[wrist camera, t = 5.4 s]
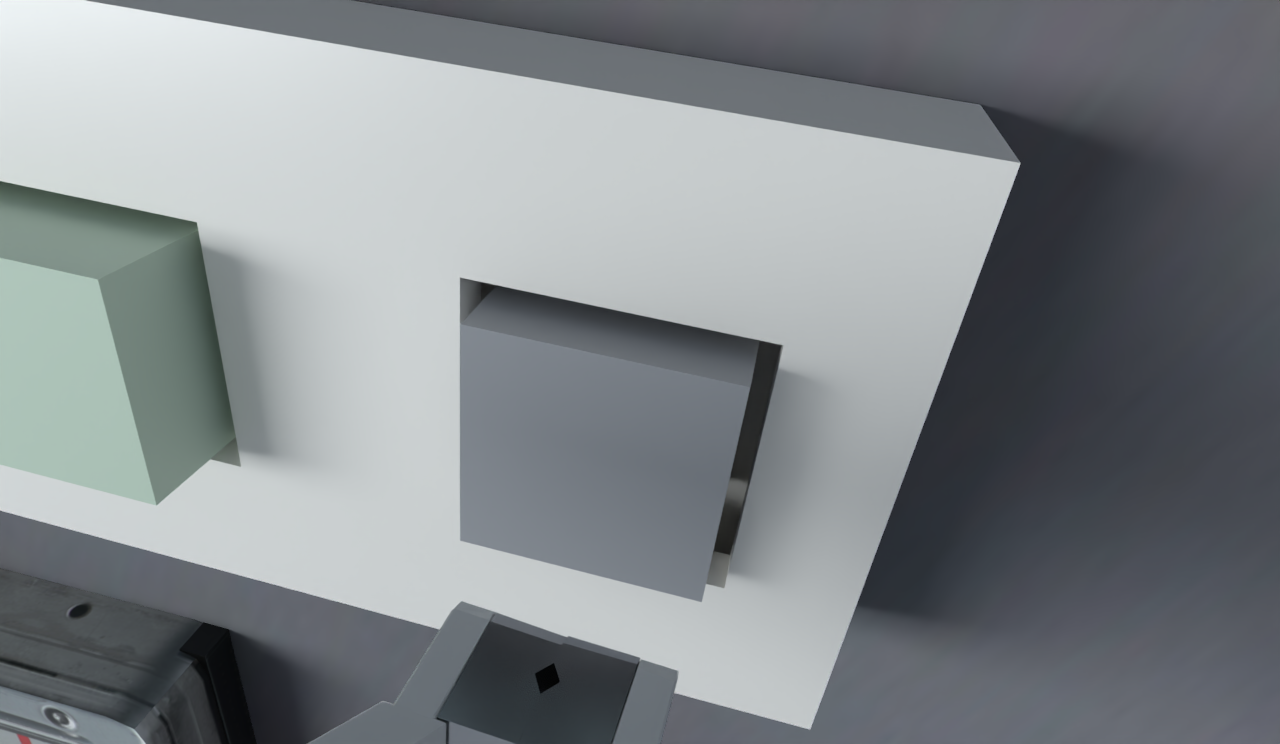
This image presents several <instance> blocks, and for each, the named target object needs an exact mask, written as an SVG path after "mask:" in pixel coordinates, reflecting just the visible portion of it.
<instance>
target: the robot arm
mask: <svg viewBox="0 0 1280 744" xmlns="http://www.w3.org/2000/svg"><path fill="white" fill-rule="evenodd" d="M640 659H641V658H639V657H636V656H633V655H630V654H626V653H623V652H620V651H616V650H613V649H610V648H607V647H603V646H600V645H597V644H593V643H590V642H587V641H583V640H580V639H577V638H574V637H570V636H568V637H565V636H562V635H560V634H557V633H554V632H551V631H548V630H545V629H542V628H539V627H536V626H534V625H531V624H528V623H525V622H522V621H519V620H516V619H513V618H511V617H508V616H505V615H502V614H499V613H497V612H494V611H491V610H487V609H484V608H481V607H478V606H475V605H472V604H469V603H466V602H463V601H461V602H460V603H459V604H458V605H457V606H456V607H455V608H454V609H452V610H451V612H450V614H449V615H448V617H447V618H446V620H445V622H444V623H443V625H442V627H441V628H440V630H439V631H438V633H437V635H436V636H435V638H434V639H433V641H432V643H431V644H430V646H429V648H428V649H427V651H426V652H425V654H424V656H423V657H422V659H421V660H420V662H419V664H418V665H417V667H416V669H415V670H414V672H413V673H412V675H411V677H410V678H409V680H408V681H407V683H406V685H405V686H404V688H403V690H402V691H401V693H400V694H399V696H398V698H397V699H396V701H395V702H394V704H392V703H389V702H385V701H381V702H380V703H378V704H376V705H374V706H373V707H371V708H369V709H367V710H366V711H364V712H362V713H360V714H359V715H357V716H355V717H353V718H352V719H350V720H348V721H346V722H345V723H343V724H341V725H339V726H338V727H336V728H334V729H332V730H330V731H329V732H327V733H325V734H323V735H322V736H320V737H318V738H316V739H315V740H313V741H311V742H309V743H308V744H661V742H662V738H663V734H664V730H665V726H666V722H667V718H668V715H669V711H670V707H671V703H672V699H673V695H674V691H675V688H676V684H677V680H678V674H679V671H678V670H674V669H671V668H668V667H665V666H661V665H658V664H655V663H652V662H648V661H645V660H642V659H641V661H640Z"/></svg>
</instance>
